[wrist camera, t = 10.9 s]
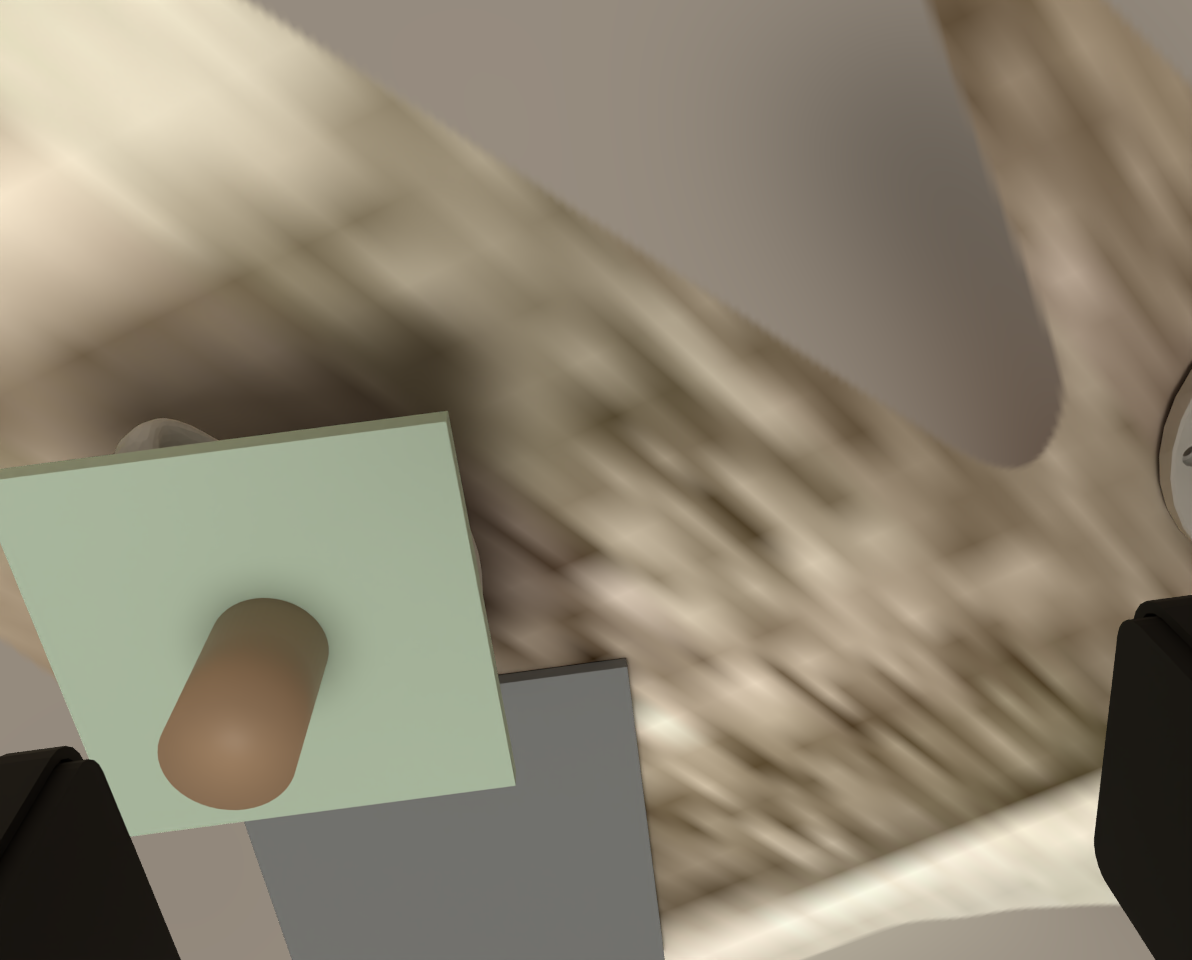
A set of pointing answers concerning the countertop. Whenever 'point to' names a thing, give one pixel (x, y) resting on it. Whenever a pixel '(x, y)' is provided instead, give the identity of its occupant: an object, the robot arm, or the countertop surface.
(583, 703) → the mat
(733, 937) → the countertop surface
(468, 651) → the lid
